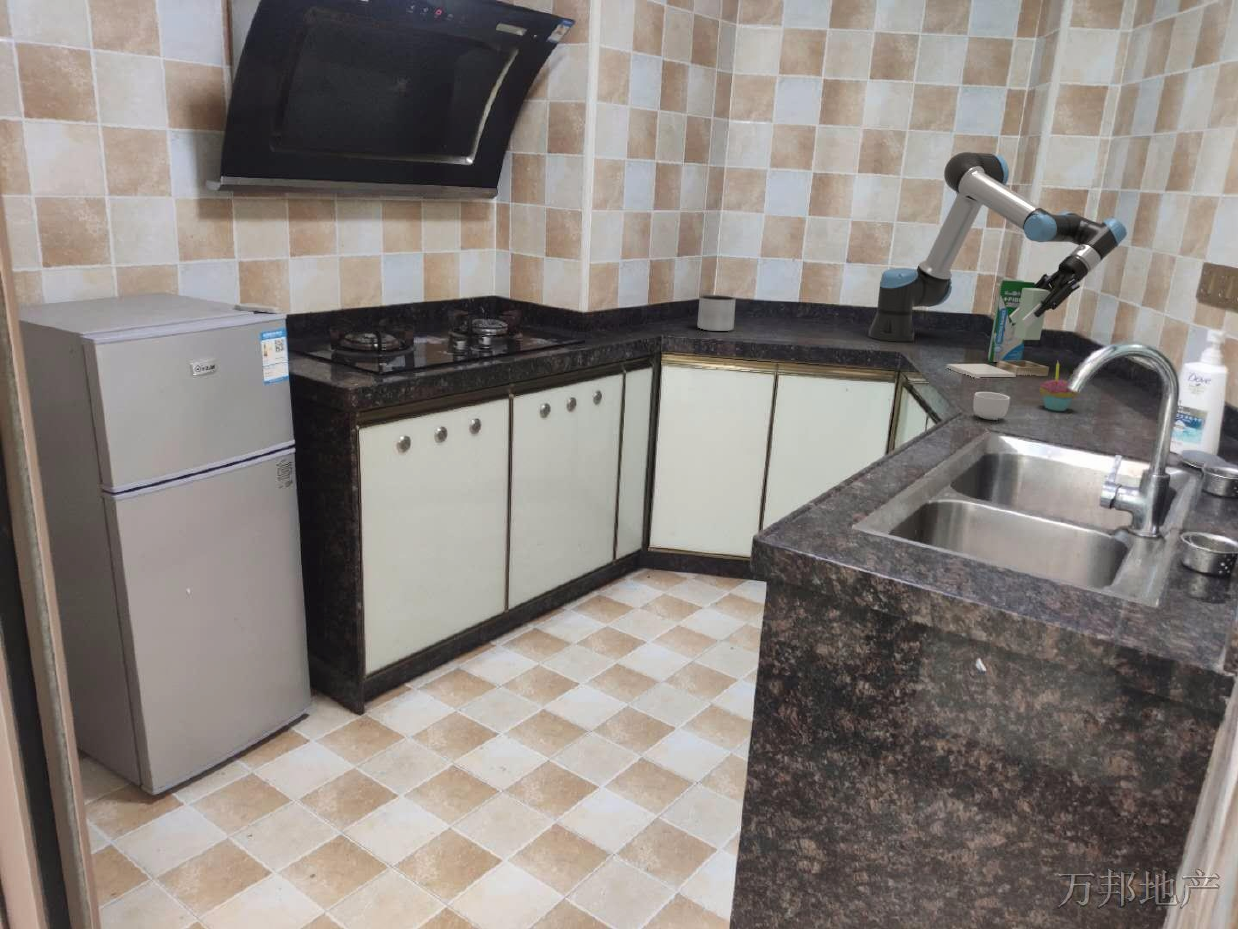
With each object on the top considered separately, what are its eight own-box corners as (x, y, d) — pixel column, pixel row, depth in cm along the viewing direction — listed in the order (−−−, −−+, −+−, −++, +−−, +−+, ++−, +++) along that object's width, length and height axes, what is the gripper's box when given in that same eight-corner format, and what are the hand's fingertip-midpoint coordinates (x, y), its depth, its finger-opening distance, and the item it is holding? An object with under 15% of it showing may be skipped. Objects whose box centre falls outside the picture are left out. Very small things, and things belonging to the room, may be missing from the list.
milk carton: (1018, 360, 290) (1032, 279, 282) (1020, 365, 281) (1035, 282, 274) (987, 357, 292) (1001, 277, 285) (988, 362, 284) (1002, 279, 277)
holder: (995, 369, 274) (997, 360, 273) (1024, 368, 277) (1026, 360, 276) (1018, 376, 265) (1019, 367, 264) (1047, 375, 267) (1049, 367, 267)
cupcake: (1056, 413, 222) (1065, 364, 218) (1028, 405, 229) (1037, 357, 226) (1082, 411, 225) (1091, 362, 222) (1053, 403, 233) (1062, 356, 229)
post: (1013, 336, 270) (1022, 287, 265) (1028, 336, 271) (1037, 288, 266) (1024, 339, 265) (1034, 290, 261) (1039, 339, 266) (1049, 290, 262)
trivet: (946, 368, 272) (946, 364, 271) (984, 367, 275) (985, 363, 275) (975, 378, 259) (976, 374, 259) (1015, 377, 262) (1015, 373, 262)
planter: (726, 333, 314) (729, 300, 311) (691, 329, 319) (694, 297, 316) (738, 329, 325) (740, 297, 322) (704, 325, 330) (706, 293, 327)
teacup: (1013, 422, 211) (1017, 399, 210) (981, 422, 210) (985, 399, 209) (990, 411, 221) (994, 389, 219) (960, 411, 220) (963, 389, 218)
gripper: (1050, 251, 271) (992, 307, 272) (1095, 258, 255) (1033, 317, 256) (1062, 270, 274) (1004, 325, 275) (1107, 277, 258) (1046, 336, 259)
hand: (1018, 321), depth 265 cm, fingers closed on post, 5 cm apart
